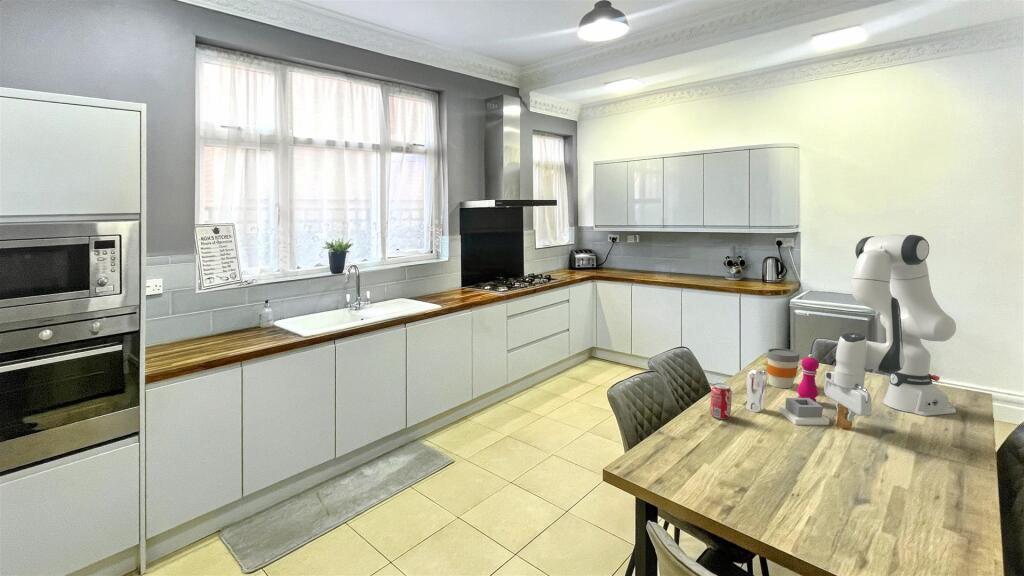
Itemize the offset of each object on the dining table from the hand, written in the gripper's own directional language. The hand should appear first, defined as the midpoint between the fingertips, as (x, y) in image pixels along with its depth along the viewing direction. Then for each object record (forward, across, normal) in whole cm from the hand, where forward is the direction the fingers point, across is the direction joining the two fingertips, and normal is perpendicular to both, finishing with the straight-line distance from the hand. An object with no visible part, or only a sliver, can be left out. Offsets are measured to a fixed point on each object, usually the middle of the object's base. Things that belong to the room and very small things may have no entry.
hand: (844, 417), depth 173 cm
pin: (+4, 0, 0) cm, 4 cm away
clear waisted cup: (+4, +16, +24) cm, 29 cm away
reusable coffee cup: (+4, +43, 0) cm, 43 cm away
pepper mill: (+4, +23, 0) cm, 23 cm away
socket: (+4, +8, +10) cm, 13 cm away
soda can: (+4, +9, +40) cm, 41 cm away
